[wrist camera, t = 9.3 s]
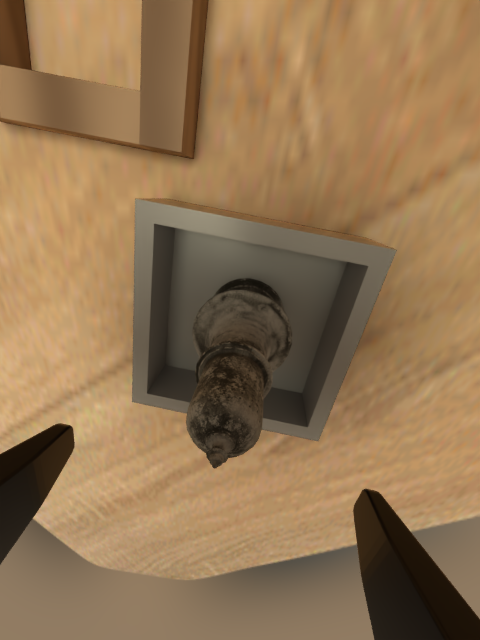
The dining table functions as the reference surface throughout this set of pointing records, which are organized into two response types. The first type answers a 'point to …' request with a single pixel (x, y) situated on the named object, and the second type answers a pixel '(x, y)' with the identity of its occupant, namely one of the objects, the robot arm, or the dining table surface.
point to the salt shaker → (235, 366)
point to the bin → (260, 264)
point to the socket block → (111, 101)
